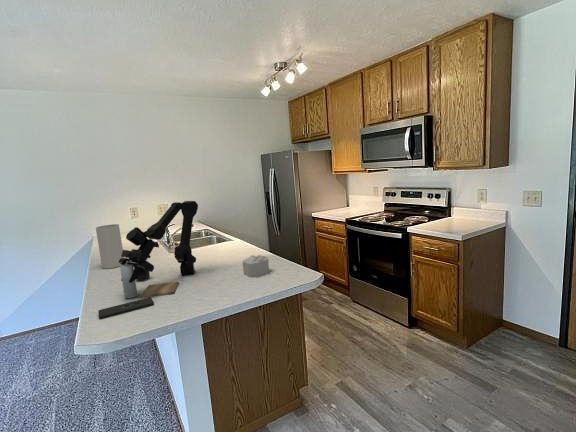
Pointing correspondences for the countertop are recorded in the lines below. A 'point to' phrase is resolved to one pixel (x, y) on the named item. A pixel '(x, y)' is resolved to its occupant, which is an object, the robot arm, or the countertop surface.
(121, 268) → the slate round-topped tapered cone
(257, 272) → the lumpy-topped squat cylinder
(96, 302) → the countertop surface
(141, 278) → the supplement bottle
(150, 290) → the walnut board
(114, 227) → the cylinder vase
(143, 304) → the smart home device
